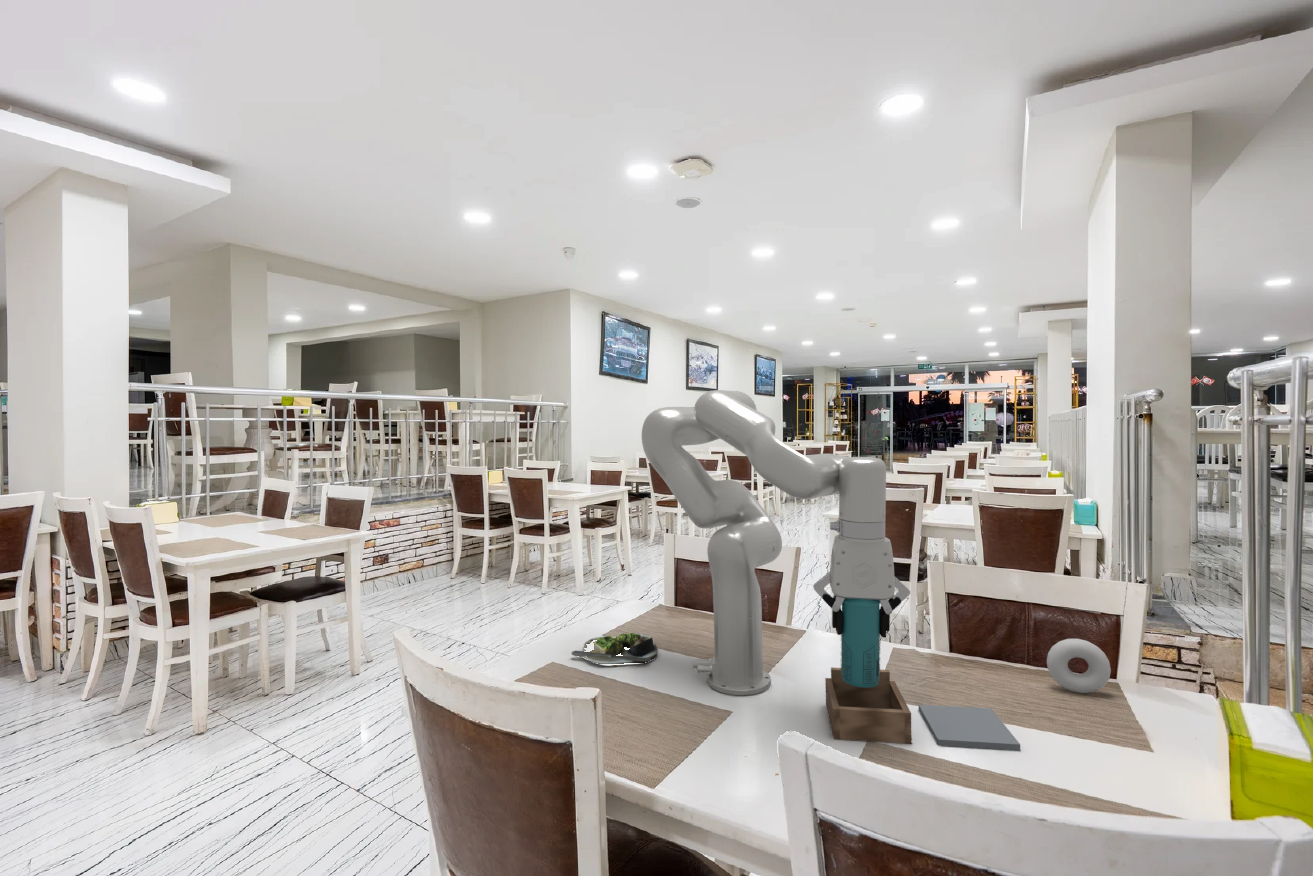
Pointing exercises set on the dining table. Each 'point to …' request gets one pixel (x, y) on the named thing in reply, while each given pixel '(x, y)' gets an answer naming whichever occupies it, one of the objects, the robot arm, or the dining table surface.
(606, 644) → the salad plate
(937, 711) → the slate mat
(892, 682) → the brown wooden open box
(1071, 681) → the donut
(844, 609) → the beverage bottle
